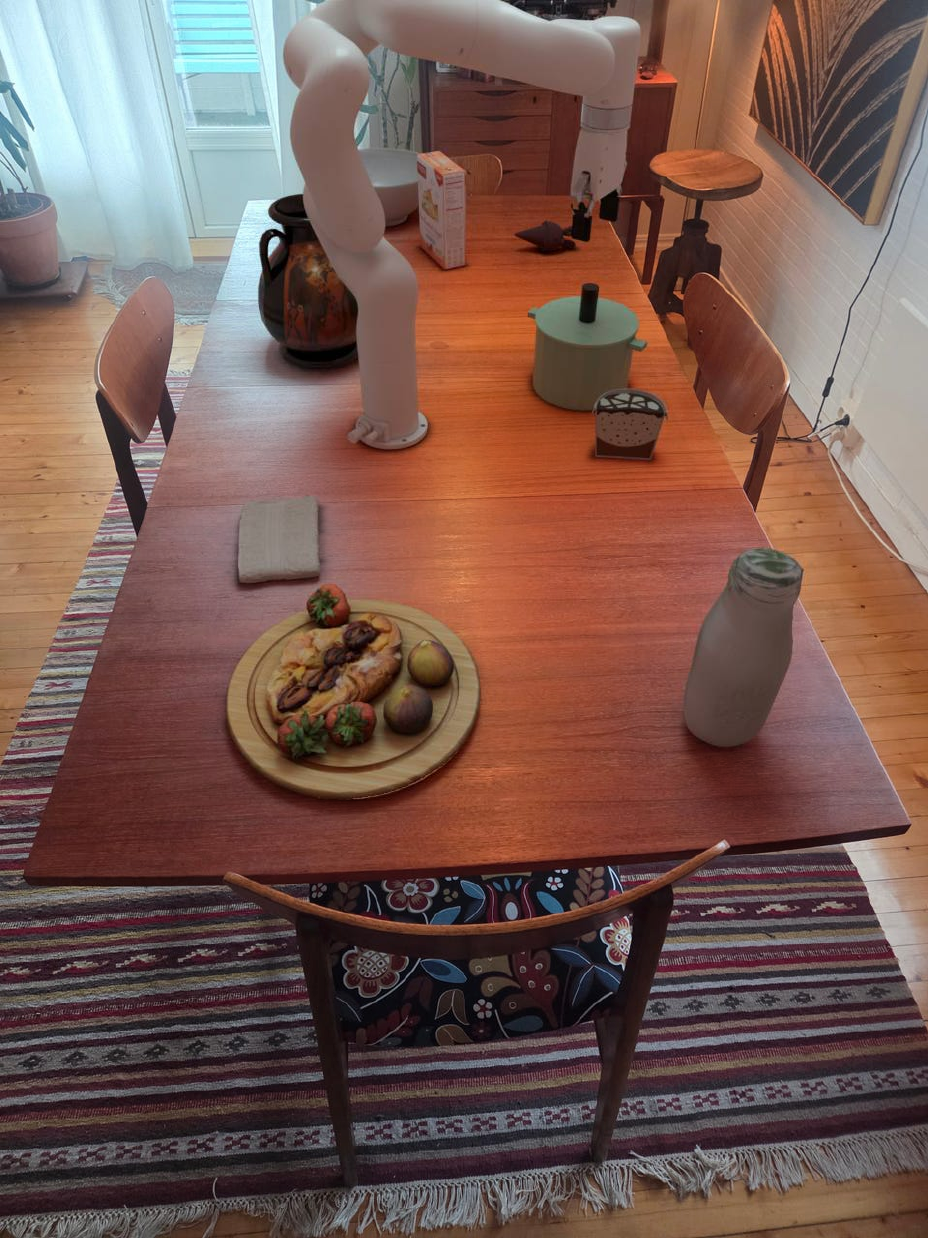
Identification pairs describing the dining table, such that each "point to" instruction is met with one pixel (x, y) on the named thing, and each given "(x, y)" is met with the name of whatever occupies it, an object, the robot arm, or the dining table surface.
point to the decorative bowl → (393, 180)
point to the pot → (580, 370)
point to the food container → (628, 424)
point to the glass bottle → (743, 649)
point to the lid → (587, 320)
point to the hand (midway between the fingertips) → (594, 229)
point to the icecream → (548, 236)
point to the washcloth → (279, 540)
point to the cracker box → (442, 209)
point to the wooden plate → (352, 697)
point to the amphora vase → (304, 294)
